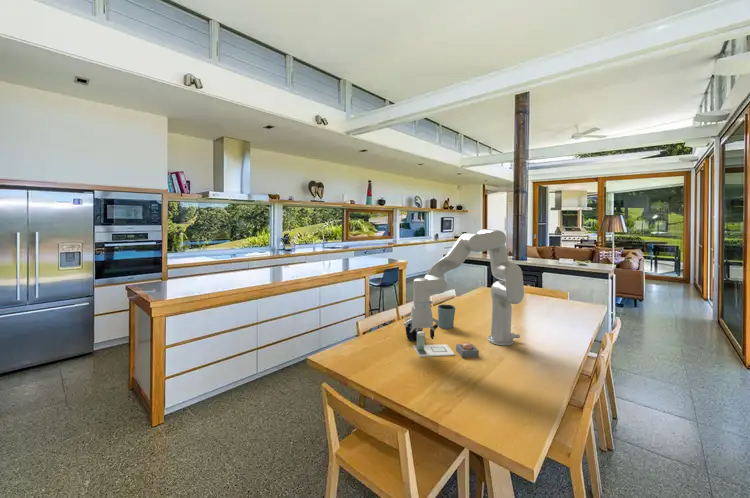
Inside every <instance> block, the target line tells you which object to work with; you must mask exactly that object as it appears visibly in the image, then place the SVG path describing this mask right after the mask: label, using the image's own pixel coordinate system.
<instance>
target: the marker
mask: <svg viewBox="0 0 750 498" xmlns="http://www.w3.org/2000/svg"><path fill="white" fill-rule="evenodd" d="M425 341H426V332H424V331H423V330H422V331H419V332H417V341H416V345H417V348H418V350H419V351H422V350H424V348H425V345H426V344H425V343H426V342H425Z"/></svg>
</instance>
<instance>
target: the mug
mask: <svg viewBox="0 0 750 498" xmlns="http://www.w3.org/2000/svg"><path fill="white" fill-rule="evenodd" d="M409 319H411V317H407V318H406V319H405V320H404V321H405V322H406V321H408V320H409ZM408 327H409V328H410V327H411V323H409V324H408ZM404 329H405V333H406V334H405V335H406V339H407V340H408V341H412V340H411V338H410V332H409V331H408V330H407V329H406V327H405V328H404ZM423 329H424V328H415V329H414V330H413V342H417V332H419V331H422V332H423Z"/></svg>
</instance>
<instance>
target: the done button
mask: <svg viewBox="0 0 750 498" xmlns="http://www.w3.org/2000/svg"><path fill="white" fill-rule="evenodd" d="M462 344H463V347H462V348H463V349H464V350H469V349H472V344H473V343H471V342H463V343H462Z"/></svg>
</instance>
